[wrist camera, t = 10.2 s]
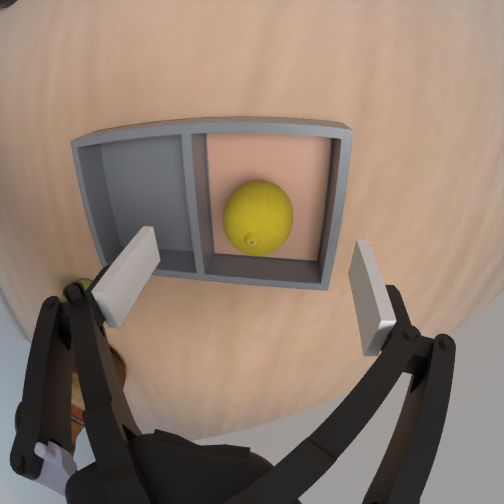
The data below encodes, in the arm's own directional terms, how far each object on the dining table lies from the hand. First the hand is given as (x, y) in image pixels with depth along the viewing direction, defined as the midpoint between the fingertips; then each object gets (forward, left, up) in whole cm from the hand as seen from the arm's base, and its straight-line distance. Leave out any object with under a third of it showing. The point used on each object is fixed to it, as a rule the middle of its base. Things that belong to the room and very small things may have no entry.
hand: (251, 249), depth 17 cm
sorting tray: (0, -6, -10) cm, 12 cm away
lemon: (0, 0, -9) cm, 10 cm away
